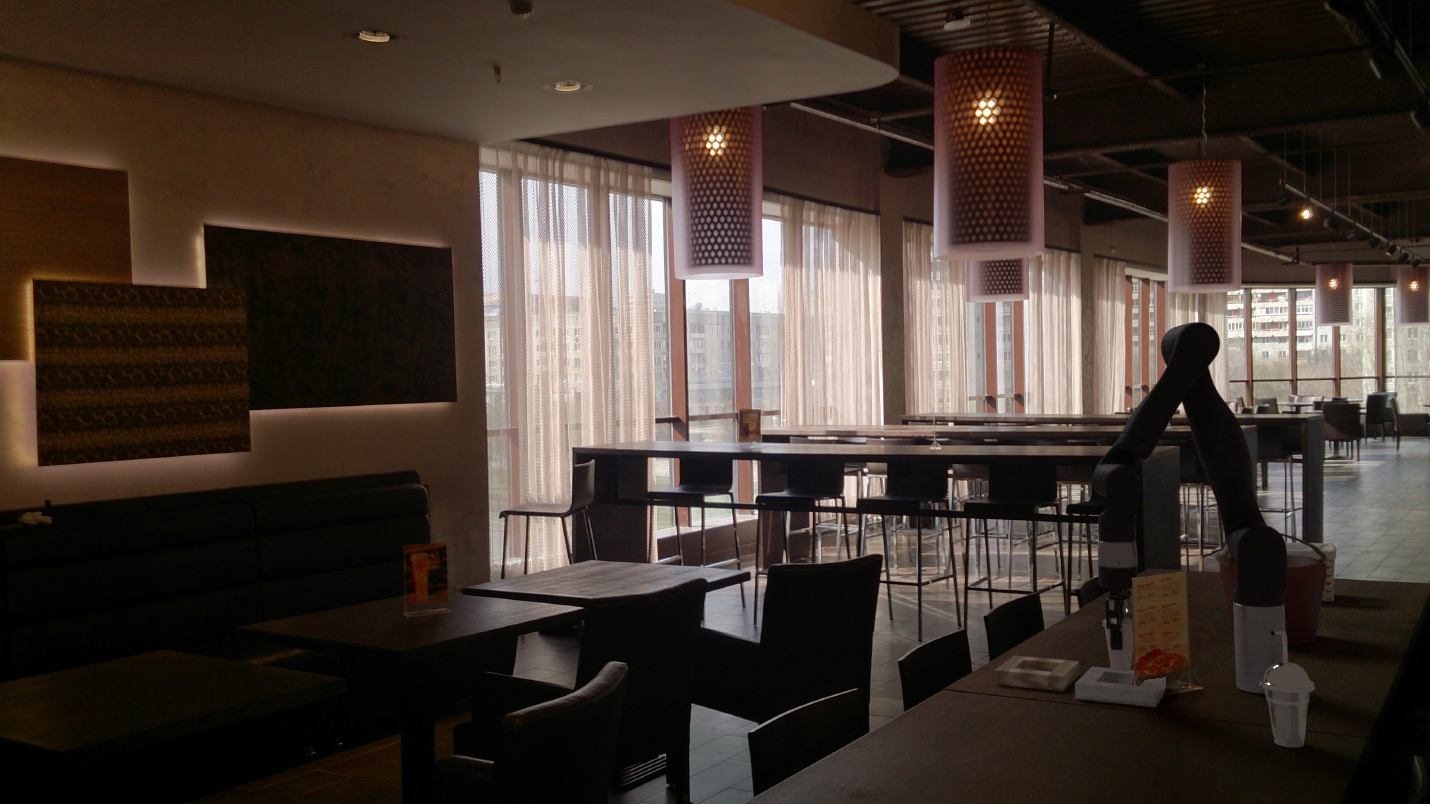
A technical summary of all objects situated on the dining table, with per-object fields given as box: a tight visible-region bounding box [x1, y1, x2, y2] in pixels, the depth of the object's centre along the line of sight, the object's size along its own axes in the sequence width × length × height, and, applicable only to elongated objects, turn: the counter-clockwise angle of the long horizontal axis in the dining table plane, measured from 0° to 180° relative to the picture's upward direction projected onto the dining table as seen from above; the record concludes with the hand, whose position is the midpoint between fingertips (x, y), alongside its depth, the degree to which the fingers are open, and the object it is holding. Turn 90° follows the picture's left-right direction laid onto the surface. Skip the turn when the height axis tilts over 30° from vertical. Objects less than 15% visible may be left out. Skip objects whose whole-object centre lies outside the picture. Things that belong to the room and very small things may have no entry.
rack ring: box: [1074, 666, 1166, 708], centre depth 222 cm, size 15×15×3 cm
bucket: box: [1214, 532, 1327, 646], centre depth 265 cm, size 24×22×25 cm
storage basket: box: [1285, 542, 1337, 602], centre depth 312 cm, size 24×16×15 cm
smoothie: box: [1102, 618, 1134, 671], centre depth 222 cm, size 6×6×14 cm
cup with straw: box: [1259, 631, 1316, 748], centre depth 188 cm, size 8×9×20 cm
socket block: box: [994, 655, 1080, 692], centre depth 234 cm, size 14×14×3 cm
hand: (1120, 645), depth 222 cm, fingers closed on smoothie, 6 cm apart
